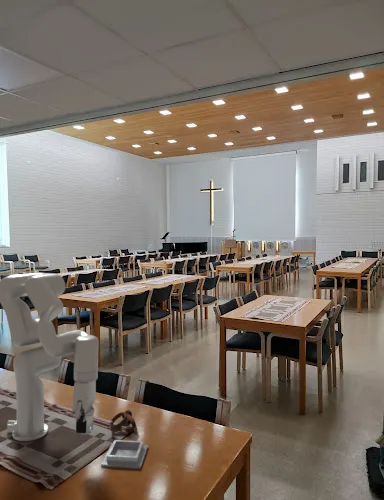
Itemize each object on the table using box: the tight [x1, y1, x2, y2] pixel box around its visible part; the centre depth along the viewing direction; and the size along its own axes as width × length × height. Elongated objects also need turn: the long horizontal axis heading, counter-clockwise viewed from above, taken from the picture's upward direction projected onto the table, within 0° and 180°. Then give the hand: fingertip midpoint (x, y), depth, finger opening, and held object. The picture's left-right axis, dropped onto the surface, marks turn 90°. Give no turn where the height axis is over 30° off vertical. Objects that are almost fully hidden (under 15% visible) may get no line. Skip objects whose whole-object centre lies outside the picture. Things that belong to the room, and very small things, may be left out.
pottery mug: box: [109, 409, 138, 435], centre depth 154 cm, size 12×10×8 cm
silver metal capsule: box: [74, 406, 95, 436], centre depth 132 cm, size 6×6×7 cm
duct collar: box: [100, 439, 149, 470], centre depth 136 cm, size 13×13×3 cm
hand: (84, 427), depth 132 cm, fingers closed on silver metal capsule, 5 cm apart
